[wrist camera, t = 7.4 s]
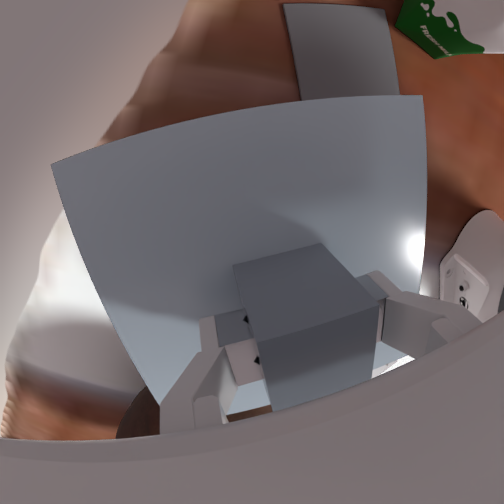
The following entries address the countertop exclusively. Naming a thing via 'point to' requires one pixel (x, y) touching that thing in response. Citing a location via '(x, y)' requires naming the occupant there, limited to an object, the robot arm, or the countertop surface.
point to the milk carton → (454, 26)
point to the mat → (341, 50)
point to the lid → (256, 236)
